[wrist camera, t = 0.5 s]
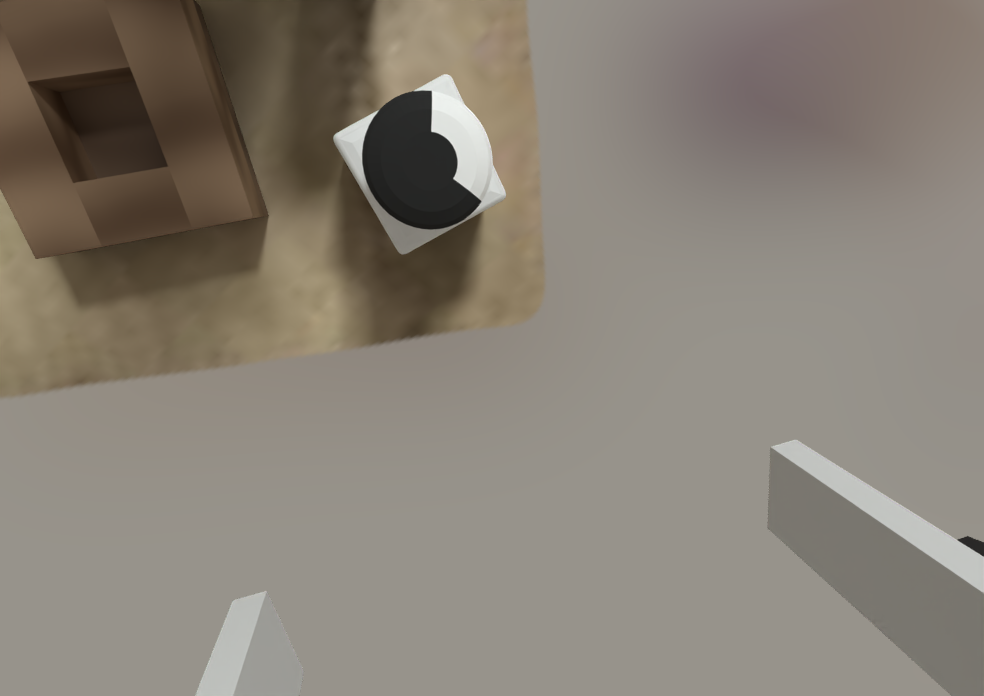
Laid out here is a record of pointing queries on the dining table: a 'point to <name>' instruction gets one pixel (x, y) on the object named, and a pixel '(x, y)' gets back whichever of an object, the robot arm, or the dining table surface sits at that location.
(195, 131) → the socket block
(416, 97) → the medicine bottle
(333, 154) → the dining table surface
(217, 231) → the dining table surface
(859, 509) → the robot arm
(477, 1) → the dining table surface
